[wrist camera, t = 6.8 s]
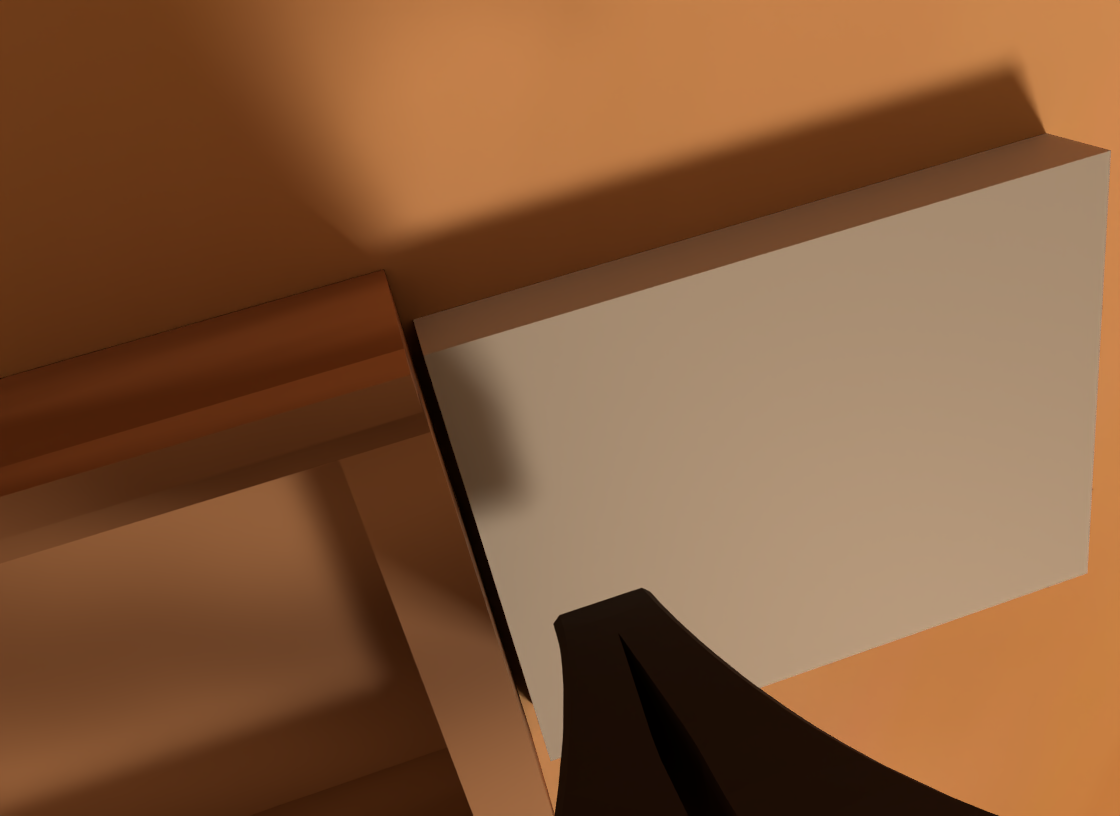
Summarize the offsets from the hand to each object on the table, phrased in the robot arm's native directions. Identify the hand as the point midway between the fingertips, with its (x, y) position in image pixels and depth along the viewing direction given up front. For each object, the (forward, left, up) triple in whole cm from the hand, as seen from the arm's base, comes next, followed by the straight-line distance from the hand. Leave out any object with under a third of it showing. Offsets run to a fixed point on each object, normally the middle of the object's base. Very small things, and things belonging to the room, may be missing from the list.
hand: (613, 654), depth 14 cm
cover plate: (0, -4, -5) cm, 6 cm away
